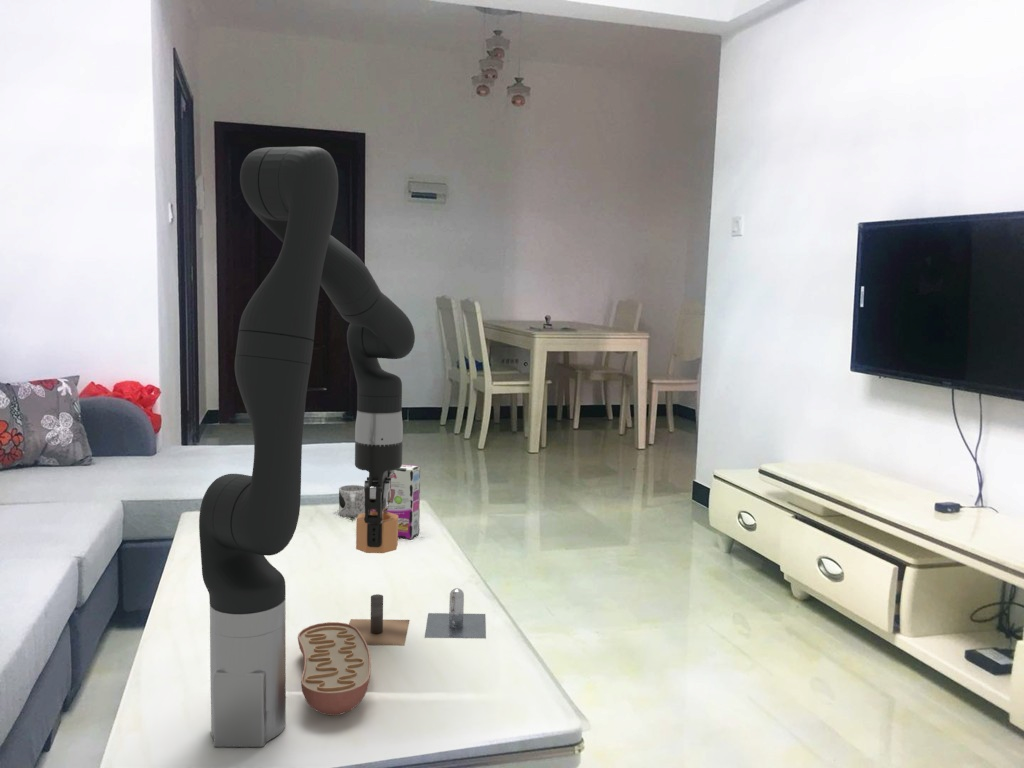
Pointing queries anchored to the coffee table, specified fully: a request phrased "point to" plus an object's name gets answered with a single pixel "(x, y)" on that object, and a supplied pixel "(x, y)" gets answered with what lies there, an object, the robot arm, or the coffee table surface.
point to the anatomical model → (334, 667)
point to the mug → (351, 500)
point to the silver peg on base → (456, 621)
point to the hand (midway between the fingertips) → (377, 539)
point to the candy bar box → (406, 500)
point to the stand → (381, 626)
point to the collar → (387, 534)
